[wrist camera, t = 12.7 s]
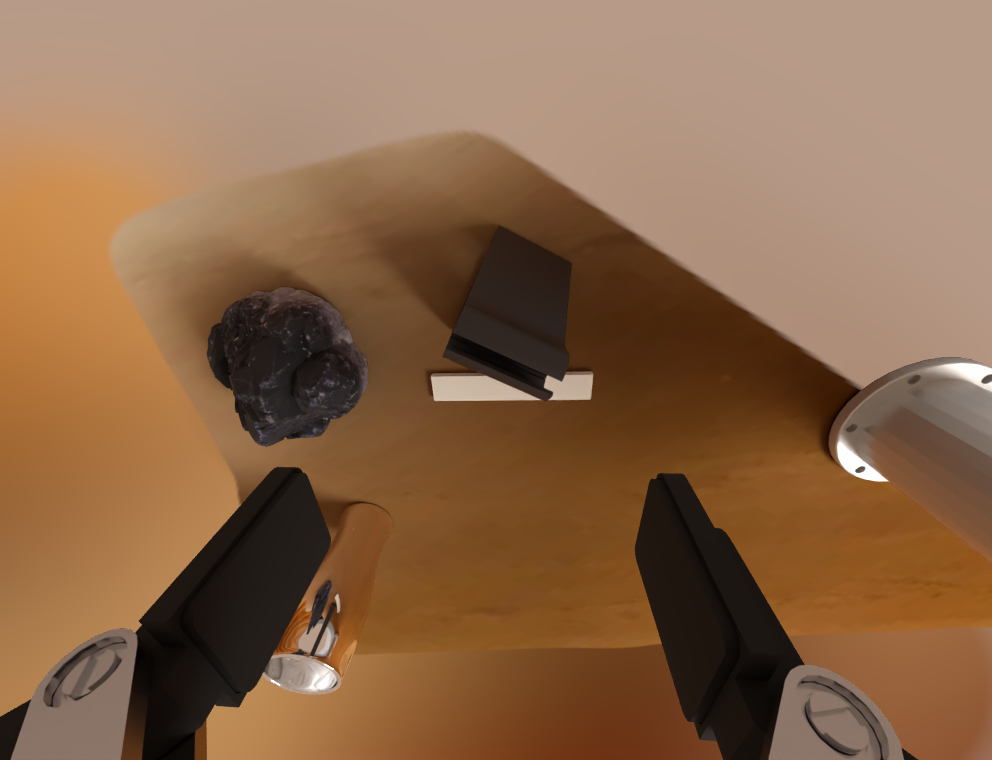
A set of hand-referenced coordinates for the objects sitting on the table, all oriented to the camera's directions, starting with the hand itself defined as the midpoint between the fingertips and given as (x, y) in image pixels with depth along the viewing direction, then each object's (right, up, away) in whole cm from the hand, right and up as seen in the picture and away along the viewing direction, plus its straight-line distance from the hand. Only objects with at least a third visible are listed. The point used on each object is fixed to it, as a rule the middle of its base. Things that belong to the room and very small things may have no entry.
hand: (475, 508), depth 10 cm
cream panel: (+2, +3, +22) cm, 22 cm away
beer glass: (-14, -13, +32) cm, 37 cm away
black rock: (-16, +6, +22) cm, 28 cm away
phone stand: (+2, +10, +19) cm, 21 cm away
